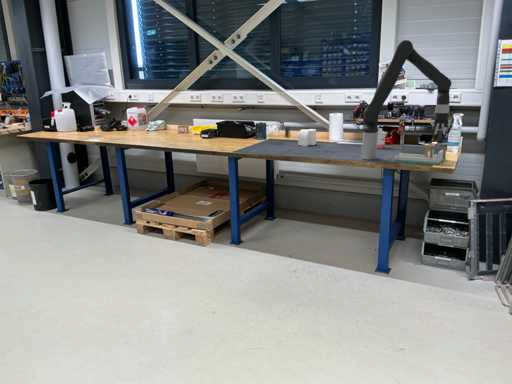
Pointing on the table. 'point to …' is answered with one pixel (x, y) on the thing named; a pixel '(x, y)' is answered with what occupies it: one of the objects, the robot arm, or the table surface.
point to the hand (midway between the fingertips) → (439, 140)
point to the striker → (438, 142)
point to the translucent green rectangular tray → (420, 155)
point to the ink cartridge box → (381, 139)
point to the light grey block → (307, 137)
